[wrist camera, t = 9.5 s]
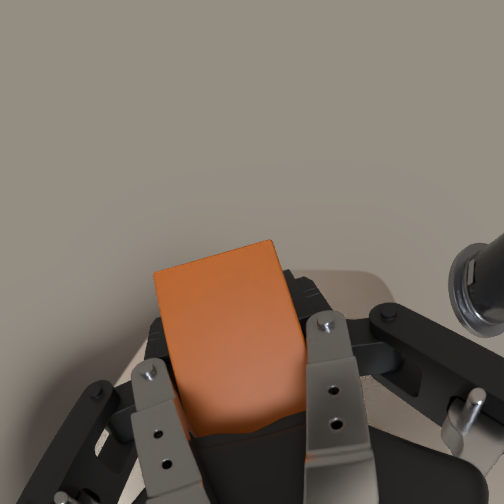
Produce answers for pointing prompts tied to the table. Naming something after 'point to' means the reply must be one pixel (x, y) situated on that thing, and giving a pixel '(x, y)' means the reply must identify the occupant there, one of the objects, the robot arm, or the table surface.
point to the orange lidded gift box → (233, 340)
